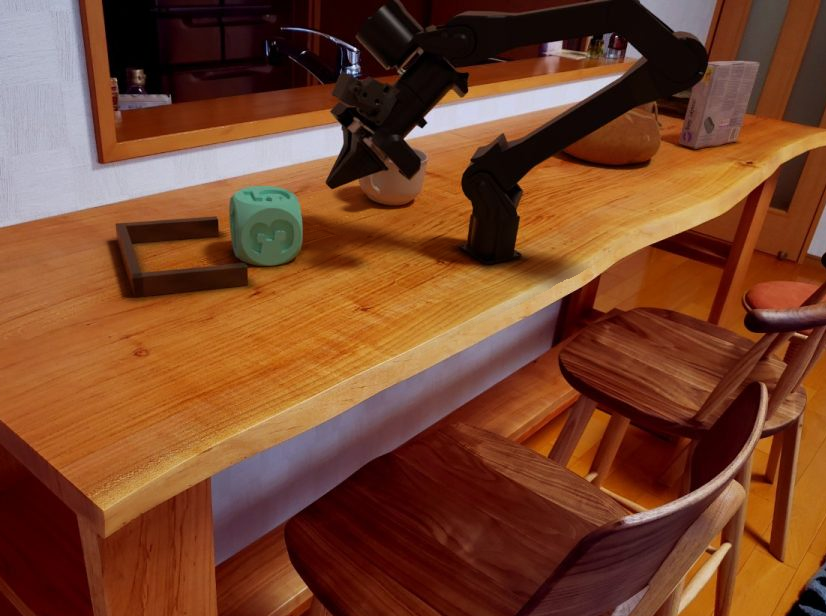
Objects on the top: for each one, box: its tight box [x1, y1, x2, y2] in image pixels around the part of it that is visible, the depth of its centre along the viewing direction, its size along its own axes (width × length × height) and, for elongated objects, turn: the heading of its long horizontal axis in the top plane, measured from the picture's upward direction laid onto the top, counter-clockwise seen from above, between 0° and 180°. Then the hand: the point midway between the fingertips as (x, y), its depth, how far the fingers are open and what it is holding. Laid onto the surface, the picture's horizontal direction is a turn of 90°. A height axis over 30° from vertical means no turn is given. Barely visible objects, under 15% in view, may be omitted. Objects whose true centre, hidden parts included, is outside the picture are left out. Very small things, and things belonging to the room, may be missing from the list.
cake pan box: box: [678, 60, 761, 150], centre depth 167 cm, size 19×5×18 cm, turn 128°
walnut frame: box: [114, 215, 249, 298], centre depth 94 cm, size 13×17×2 cm
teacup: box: [358, 145, 429, 206], centre depth 118 cm, size 14×11×8 cm
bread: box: [562, 108, 662, 166], centre depth 153 cm, size 23×23×10 cm
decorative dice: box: [228, 185, 304, 267], centre depth 97 cm, size 8×8×8 cm
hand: (328, 186), depth 97 cm, fingers closed
